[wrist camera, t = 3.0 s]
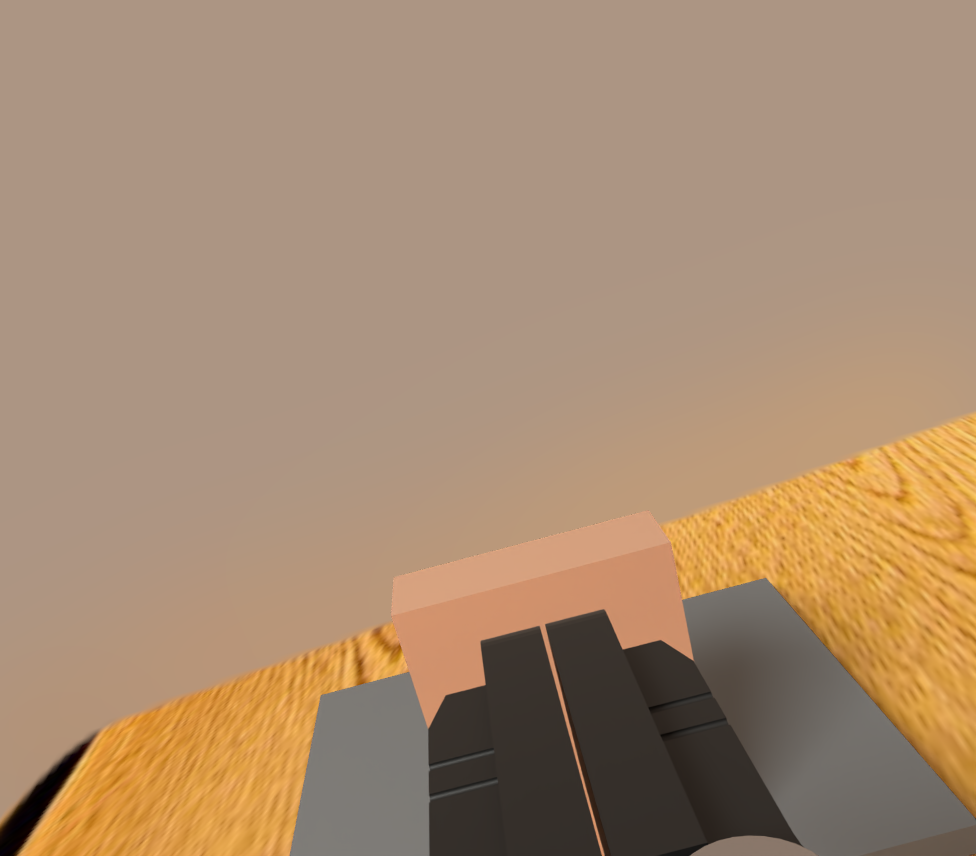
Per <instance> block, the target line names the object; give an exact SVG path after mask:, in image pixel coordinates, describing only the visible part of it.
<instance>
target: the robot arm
mask: <svg viewBox="0 0 976 856" xmlns="http://www.w3.org/2000/svg"><path fill="white" fill-rule="evenodd" d="M545 627H546V631H547V635H548V640H549V644H550V648H551V652H552V656H553V660H554V664H555V668H556V672H557V676H558V680H559V684H560V688H561V692H562V696H563V700H564V704H565V708H566V712H567V716H568V720H569V724H570V728H571V732H572V736H573V740H574V744H575V748H576V752H577V756H578V760H579V763H580V767H581V771H582V775H583V779H584V782H585V786H586V790H587V793H588V797H589V801H590V804H591V808H592V812H593V815H594V819H595V822H596V826H597V830H598V833H599V837H600V841H601V844H602V848H603V852H604V855H605V856H818V855H817V854H815V853H814V852H812V851H811V850H808V849H806V848H804V847H803V846H802V845H801V843H800V842H799V840H798V839H797V837H796V836H795V835H794V833H793V832H792V830H791V828H790V827H789V825H788V823H787V821H786V820H785V818H784V816H783V814H782V813H781V811H780V809H779V808H778V806H777V804H776V802H775V801H774V799H773V797H772V795H771V794H770V792H769V790H768V789H767V787H766V785H765V783H764V782H763V780H762V778H761V777H760V775H759V773H758V771H757V770H756V768H755V766H754V764H753V763H752V761H751V759H750V758H749V756H748V754H747V752H746V751H745V749H744V747H743V745H742V744H741V742H740V740H739V739H738V737H737V735H736V733H735V732H734V730H733V728H732V727H731V725H729V724H728V722H727V718H726V716H725V714H724V713H723V711H722V709H721V708H720V706H719V704H718V702H717V701H716V699H715V698H713V696H712V693H711V690H710V689H709V687H708V685H707V683H706V682H705V680H704V678H703V677H702V675H701V673H700V671H699V670H698V668H697V666H696V664H695V663H694V661H693V660H691V659H690V658H688V657H687V656H685V655H684V654H682V653H681V652H679V651H677V650H676V649H674V648H673V647H671V646H670V645H668V644H667V643H665V642H663V641H662V640H658V641H654V642H650V643H647V644H643V645H639V646H635V647H631V648H627V649H622V647H621V645H620V642H619V640H618V638H617V635H616V633H615V631H614V629H613V626H612V624H611V622H610V619H609V617H608V615H607V613H606V611H605V610H604V609H602V610H598V611H594V612H590V613H586V614H582V615H578V616H574V617H570V618H566V619H563V620H559V621H555V622H551V623H547V624H545ZM480 644H481V652H482V660H483V668H484V676H485V684H486V685H484V686H480V687H476V688H472V689H468V690H464V691H460V692H456V693H452V694H448V695H446V696H445V698H444V699H443V701H442V703H441V705H440V707H439V709H438V711H437V713H436V715H435V717H434V719H433V721H432V723H431V725H430V727H429V728H428V763H429V769H430V771H429V797H430V802H429V856H602V854H601V850H600V846H599V843H598V839H597V835H596V832H595V828H594V824H593V821H592V817H591V813H590V810H589V806H588V802H587V798H586V795H585V791H584V787H583V784H582V780H581V776H580V773H579V769H578V765H577V762H576V758H575V754H574V750H573V747H572V743H571V739H570V736H569V732H568V728H567V725H566V721H565V717H564V713H563V710H562V706H561V702H560V699H559V695H558V691H557V688H556V684H555V680H554V677H553V673H552V669H551V665H550V662H549V658H548V654H547V651H546V647H545V643H544V640H543V636H542V632H541V629H540V626H536V627H532V628H528V629H524V630H520V631H517V632H513V633H509V634H505V635H501V636H497V637H493V638H489V639H485V640H481V642H480Z"/></svg>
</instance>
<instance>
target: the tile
mask: <svg viewBox="0 0 976 856" xmlns="http://www.w3.org/2000/svg"><path fill="white" fill-rule="evenodd" d="M602 609H604V610H605V611H606V613H607V615H608V617H609V619H610V622H611V624H612V626H613V629H614V631H615V633H616V635H617V638H618V640H619V642H620V645H621V647H622V649H627V648H631V647H635V646H639V645H643V644H647V643H650V642H654V641H658V640H662V641H663V642H665V643H667V644H668V645H670V646H671V647H673V648H674V649H676V650H677V651H679V652H681V653H682V654H684V655H685V656H687V657H688V658H690V659H691V660H693V661H694V659H693V654H692V648H691V643H690V638H689V633H688V628H687V623H686V618H685V613H684V608H683V603H682V597H681V592H680V587H679V582H678V577H677V572H676V567H675V562H674V557H673V552H672V546H671V542H670V541H669V539H668V538H667V536H666V535H665V533H664V532H663V530H662V529H661V528H660V526H659V525H658V523H657V522H656V520H655V519H654V518H653V516H652V515H651V513H650V512H649V511H648V510H647V511H643V512H639V513H635V514H631V515H628V516H624V517H620V518H616V519H612V520H609V521H605V522H601V523H597V524H593V525H590V526H586V527H582V528H578V529H574V530H571V531H567V532H563V533H559V534H555V535H552V536H548V537H544V538H540V539H537V540H533V541H529V542H525V543H521V544H517V545H514V546H510V547H506V548H502V549H498V550H495V551H491V552H487V553H483V554H479V555H476V556H472V557H468V558H465V559H461V560H457V561H453V562H449V563H446V564H441V565H438V566H434V567H430V568H427V569H422V570H419V571H415V572H411V573H407V574H403V575H400V576H396V577H394V582H393V596H392V611H391V617H392V620H393V623H394V626H395V629H396V632H397V635H398V638H399V642H400V645H401V648H402V651H403V654H404V657H405V660H406V663H407V666H408V669H409V672H410V675H411V678H412V681H413V684H414V687H415V690H416V694H417V697H418V700H419V703H420V706H421V709H422V712H423V715H424V718H425V721H426V724H427V727H428V728H429V727H430V725H431V723H432V721H433V719H434V717H435V715H436V713H437V711H438V709H439V707H440V705H441V703H442V701H443V699H444V698H445V696H446V695H448V694H452V693H456V692H460V691H464V690H468V689H472V688H476V687H480V686H484V685H486V684H485V676H484V668H483V660H482V652H481V644H480V642H481V640H485V639H489V638H493V637H497V636H501V635H505V634H509V633H513V632H517V631H520V630H524V629H528V628H532V627H536V626H540V629H541V632H542V636H543V640H544V643H545V647H546V651H547V654H548V658H549V662H550V665H551V669H552V673H553V677H554V680H555V684H556V688H557V691H558V695H559V699H560V702H561V706H562V710H563V713H564V717H565V721H566V725H567V728H568V732H569V736H570V739H571V743H572V747H573V750H574V754H575V758H576V762H577V765H578V769H579V773H580V776H581V780H582V784H583V787H584V791H585V795H586V798H587V802H588V806H589V810H590V813H591V817H592V821H593V824H594V828H595V832H596V835H597V839H598V843H599V846H600V850H601V854H602V856H605V855H604V852H603V848H602V844H601V841H600V837H599V833H598V830H597V826H596V822H595V819H594V815H593V812H592V808H591V804H590V801H589V797H588V793H587V790H586V786H585V782H584V779H583V775H582V771H581V767H580V763H579V760H578V756H577V752H576V748H575V744H574V740H573V736H572V732H571V728H570V724H569V720H568V716H567V712H566V708H565V704H564V700H563V696H562V692H561V688H560V684H559V680H558V676H557V672H556V668H555V664H554V660H553V656H552V652H551V648H550V644H549V640H548V635H547V631H546V627H545V624H547V623H551V622H555V621H559V620H563V619H566V618H570V617H574V616H578V615H582V614H586V613H590V612H594V611H598V610H602Z"/></svg>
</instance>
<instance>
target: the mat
mask: <svg viewBox="0 0 976 856" xmlns="http://www.w3.org/2000/svg"><path fill="white" fill-rule="evenodd" d="M682 603H683V608H684V613H685V618H686V623H687V628H688V633H689V638H690V643H691V648H692V654H693V659H694V663H695V664H696V666H697V668H698V670H699V671H700V673H701V675H702V677H703V678H704V680H705V682H706V683H707V685H708V687H709V689H710V690H711V693H712V696H713V698H715V699H716V701H717V702H718V704H719V706H720V708H721V709H722V711H723V713H724V714H725V716H726V718H727V722H728V724H729V725H731V727H732V728H733V730H734V732H735V733H736V735H737V737H738V739H739V740H740V742H741V744H742V745H743V747H744V749H745V751H746V752H747V754H748V756H749V758H750V759H751V761H752V763H753V764H754V766H755V768H756V770H757V771H758V773H759V775H760V777H761V778H762V780H763V782H764V783H765V785H766V787H767V789H768V790H769V792H770V794H771V795H772V797H773V799H774V801H775V802H776V804H777V806H778V808H779V809H780V811H781V813H782V814H783V816H784V818H785V820H786V821H787V823H788V825H789V827H790V828H791V830H792V832H793V833H794V835H795V836H796V837H797V839H798V840H799V842H800V843H801V845H802V846H803V847H804V848H806V849H808V850H811V851H812V852H814V853H815V854H817V855H818V856H969V855H973V854H976V819H975V818H974V816H973V815H972V814H971V813H970V812H969V811H968V810H967V808H966V807H965V806H964V805H963V804H962V803H961V802H960V800H959V799H958V798H957V797H956V796H955V795H954V794H953V792H952V791H951V790H950V789H949V788H948V787H947V785H946V784H945V783H944V782H943V781H942V780H941V779H940V777H939V776H938V775H937V774H936V773H935V772H934V771H933V769H932V768H931V767H930V766H929V765H928V764H927V762H926V761H925V760H924V759H923V758H922V757H921V756H920V754H919V753H918V752H917V751H916V750H915V749H914V748H913V746H912V745H911V744H910V743H909V742H908V741H907V740H906V738H905V737H904V736H903V735H902V734H901V733H900V731H899V730H898V729H897V728H896V727H895V726H894V725H893V723H892V722H891V721H890V720H889V719H888V718H887V717H886V715H885V714H884V713H883V712H882V711H881V710H880V709H879V707H878V706H877V705H876V704H875V703H874V702H873V700H872V699H871V698H870V697H869V696H868V695H867V694H866V692H865V691H864V690H863V689H862V688H861V687H860V686H859V684H858V683H857V682H856V681H855V680H854V679H853V678H852V676H851V675H850V674H849V673H848V672H847V671H846V669H845V668H844V667H843V666H842V665H841V664H840V663H839V661H838V660H837V659H836V658H835V657H834V656H833V655H832V653H831V652H830V651H829V650H828V649H827V648H826V646H825V645H824V644H823V643H822V642H821V641H820V640H819V638H818V637H817V636H816V635H815V634H814V633H813V632H812V630H811V629H810V628H809V627H808V626H807V625H806V624H805V622H804V621H803V620H802V619H801V618H800V617H799V615H798V614H797V613H796V612H795V611H794V610H793V609H792V607H791V606H790V605H789V604H788V603H787V602H786V601H785V599H784V598H783V597H782V596H781V595H780V594H779V593H778V591H777V590H776V589H775V588H774V587H773V586H772V584H771V583H770V582H769V581H768V580H767V579H766V578H764V579H760V580H756V581H753V582H749V583H745V584H741V585H737V586H734V587H730V588H726V589H722V590H718V591H715V592H711V593H707V594H703V595H699V596H696V597H692V598H688V599H684V600H682ZM429 771H430V769H429V763H428V727H427V724H426V721H425V718H424V715H423V712H422V709H421V706H420V703H419V700H418V697H417V694H416V690H415V687H414V684H413V681H412V678H411V675H410V672H407V673H404V674H400V675H396V676H392V677H388V678H385V679H381V680H377V681H373V682H370V683H366V684H362V685H358V686H354V687H351V688H347V689H343V690H339V691H335V692H332V693H328V694H324V695H321V697H320V703H319V708H318V713H317V718H316V723H315V728H314V733H313V739H312V744H311V749H310V754H309V759H308V764H307V769H306V775H305V780H304V785H303V790H302V795H301V800H300V805H299V811H298V816H297V821H296V826H295V831H294V836H293V841H292V847H291V852H290V856H429V802H430V797H429Z"/></svg>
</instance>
